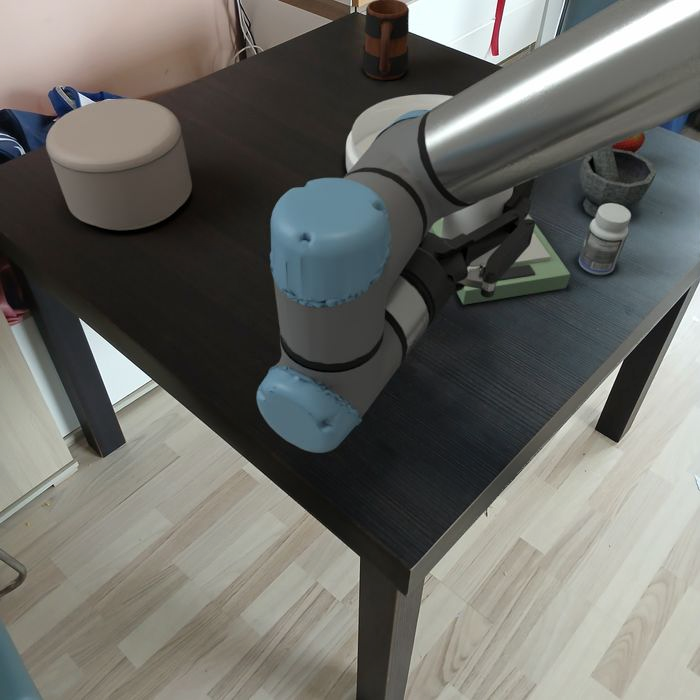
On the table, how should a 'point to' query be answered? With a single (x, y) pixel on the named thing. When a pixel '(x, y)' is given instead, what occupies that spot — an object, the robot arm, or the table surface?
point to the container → (120, 163)
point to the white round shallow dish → (384, 121)
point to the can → (475, 219)
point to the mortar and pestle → (614, 178)
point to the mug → (386, 39)
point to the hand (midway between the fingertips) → (497, 175)
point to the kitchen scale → (521, 271)
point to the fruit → (631, 143)
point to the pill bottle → (605, 239)
